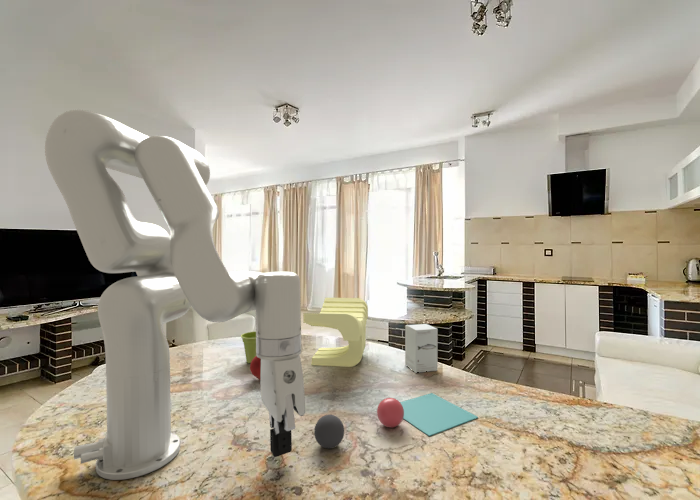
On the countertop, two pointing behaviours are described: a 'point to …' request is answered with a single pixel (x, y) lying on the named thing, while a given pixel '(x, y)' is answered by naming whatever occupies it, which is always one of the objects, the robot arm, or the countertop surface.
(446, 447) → the countertop surface
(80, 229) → the robot arm
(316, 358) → the slatted curved stool
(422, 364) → the supplement box
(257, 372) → the onion
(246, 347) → the plant pot
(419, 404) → the teal mark
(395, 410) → the red ball
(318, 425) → the dark gray ball
